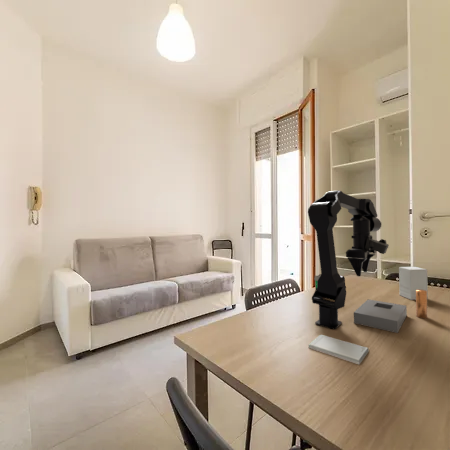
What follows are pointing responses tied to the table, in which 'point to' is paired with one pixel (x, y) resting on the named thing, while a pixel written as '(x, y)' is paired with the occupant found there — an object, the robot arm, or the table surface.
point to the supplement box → (412, 281)
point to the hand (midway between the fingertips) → (362, 274)
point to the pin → (421, 303)
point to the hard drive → (339, 348)
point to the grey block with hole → (381, 315)
